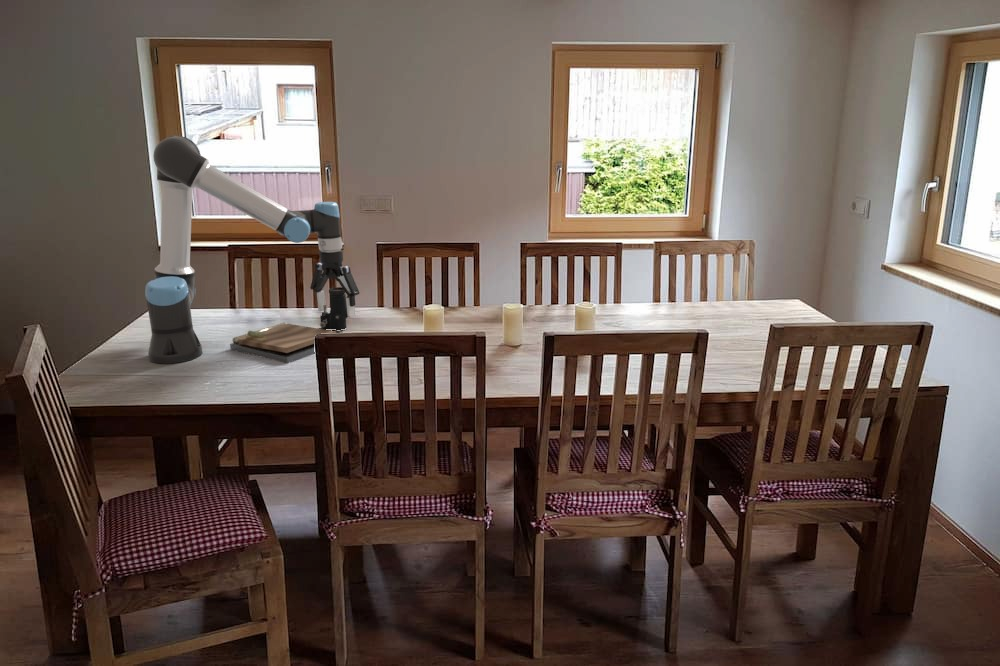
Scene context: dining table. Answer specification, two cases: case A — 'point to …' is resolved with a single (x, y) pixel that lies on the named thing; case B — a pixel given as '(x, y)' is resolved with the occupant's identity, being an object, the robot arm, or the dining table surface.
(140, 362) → the dining table surface
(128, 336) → the dining table surface
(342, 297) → the scope
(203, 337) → the dining table surface
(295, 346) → the board
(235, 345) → the stand
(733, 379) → the dining table surface
